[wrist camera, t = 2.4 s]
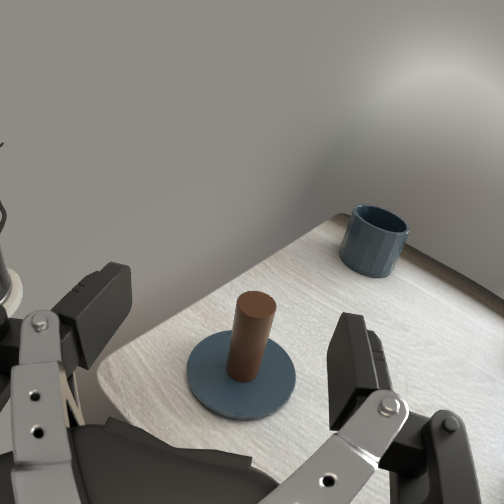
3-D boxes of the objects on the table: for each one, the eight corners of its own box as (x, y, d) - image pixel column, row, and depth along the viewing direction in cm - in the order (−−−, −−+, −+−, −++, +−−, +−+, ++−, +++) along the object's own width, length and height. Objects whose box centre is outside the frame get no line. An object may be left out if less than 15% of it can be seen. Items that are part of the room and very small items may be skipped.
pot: (334, 263, 45) (349, 218, 41) (344, 238, 52) (357, 198, 48) (390, 285, 42) (410, 241, 38) (393, 257, 50) (408, 218, 46)
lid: (165, 388, 24) (159, 315, 20) (219, 323, 32) (229, 250, 27) (268, 440, 22) (298, 381, 17) (306, 361, 29) (335, 291, 24)
